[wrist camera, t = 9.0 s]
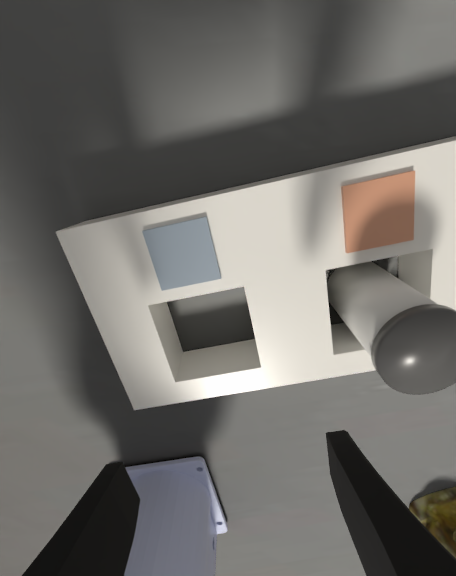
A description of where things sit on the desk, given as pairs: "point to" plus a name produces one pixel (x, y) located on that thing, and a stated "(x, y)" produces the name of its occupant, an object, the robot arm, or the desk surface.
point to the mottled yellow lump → (438, 516)
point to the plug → (397, 327)
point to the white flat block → (264, 269)
